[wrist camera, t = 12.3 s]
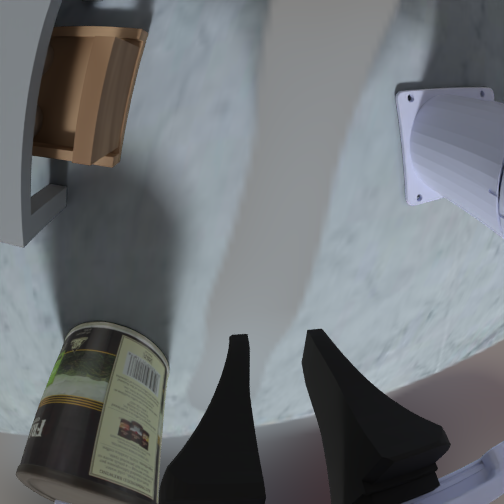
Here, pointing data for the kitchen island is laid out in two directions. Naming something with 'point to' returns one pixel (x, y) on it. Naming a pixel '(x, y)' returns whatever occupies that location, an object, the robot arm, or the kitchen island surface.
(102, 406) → the coffee can
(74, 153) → the tray
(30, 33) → the shelf
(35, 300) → the kitchen island surface
